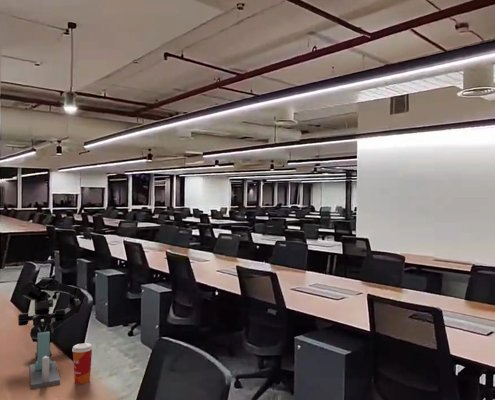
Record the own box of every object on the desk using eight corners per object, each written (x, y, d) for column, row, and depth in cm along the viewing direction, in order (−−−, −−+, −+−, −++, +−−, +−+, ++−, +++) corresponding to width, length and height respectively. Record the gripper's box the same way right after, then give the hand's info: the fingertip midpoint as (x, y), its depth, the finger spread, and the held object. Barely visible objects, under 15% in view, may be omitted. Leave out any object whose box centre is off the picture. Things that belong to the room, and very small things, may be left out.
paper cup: (72, 379, 176) (72, 343, 176) (92, 376, 179) (92, 341, 179) (71, 386, 169) (71, 350, 169) (92, 383, 171) (93, 347, 171)
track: (29, 368, 187) (29, 343, 187) (55, 364, 192) (55, 340, 192) (31, 388, 167) (31, 360, 167) (60, 383, 171) (60, 356, 171)
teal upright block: (35, 366, 185) (35, 332, 185) (51, 364, 187) (51, 331, 187) (36, 373, 177) (36, 338, 177) (52, 371, 179) (52, 336, 179)
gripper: (18, 295, 191) (18, 327, 182) (64, 291, 200) (67, 321, 190) (18, 309, 198) (18, 341, 189) (63, 305, 207) (65, 335, 197)
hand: (42, 334), depth 191 cm, fingers closed
